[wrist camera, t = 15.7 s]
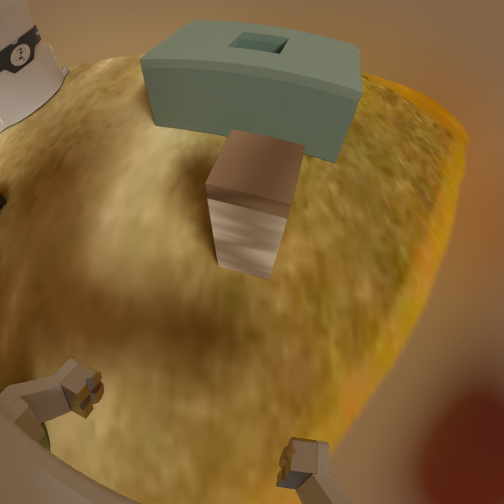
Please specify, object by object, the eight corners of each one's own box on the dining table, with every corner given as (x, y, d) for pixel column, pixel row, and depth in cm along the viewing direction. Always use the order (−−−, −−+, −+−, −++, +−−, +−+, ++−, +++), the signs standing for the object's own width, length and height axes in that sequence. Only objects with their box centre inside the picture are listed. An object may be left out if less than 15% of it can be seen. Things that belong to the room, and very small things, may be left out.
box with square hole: (155, 125, 28) (139, 59, 20) (197, 75, 33) (192, 20, 25) (335, 162, 27) (362, 92, 18) (341, 102, 32) (358, 46, 23)
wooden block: (218, 265, 22) (205, 183, 12) (233, 222, 23) (232, 129, 14) (269, 279, 21) (291, 204, 12) (280, 234, 23) (305, 145, 14)
